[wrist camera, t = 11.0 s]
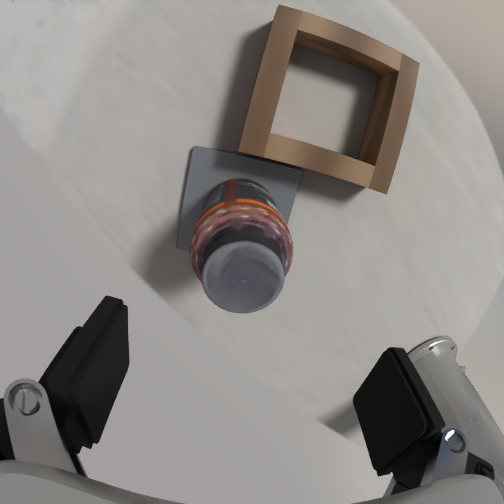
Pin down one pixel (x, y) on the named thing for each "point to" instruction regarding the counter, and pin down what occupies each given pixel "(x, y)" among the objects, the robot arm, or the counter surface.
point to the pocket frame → (382, 114)
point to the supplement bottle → (241, 246)
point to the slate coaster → (228, 167)
